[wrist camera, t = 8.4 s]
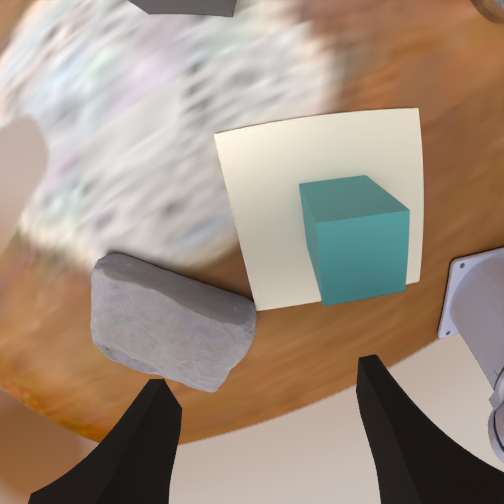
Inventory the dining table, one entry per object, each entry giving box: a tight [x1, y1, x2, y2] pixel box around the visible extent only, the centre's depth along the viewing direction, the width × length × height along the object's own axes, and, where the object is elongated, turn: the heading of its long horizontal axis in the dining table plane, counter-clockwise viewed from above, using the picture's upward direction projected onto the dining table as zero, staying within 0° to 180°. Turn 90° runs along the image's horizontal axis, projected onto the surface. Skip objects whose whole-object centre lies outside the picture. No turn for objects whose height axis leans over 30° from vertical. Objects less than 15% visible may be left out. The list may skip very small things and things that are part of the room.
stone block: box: [90, 253, 257, 392], centre depth 22 cm, size 12×5×10 cm
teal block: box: [299, 175, 410, 306], centre depth 15 cm, size 4×4×6 cm
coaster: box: [214, 108, 424, 311], centre depth 18 cm, size 12×12×1 cm
